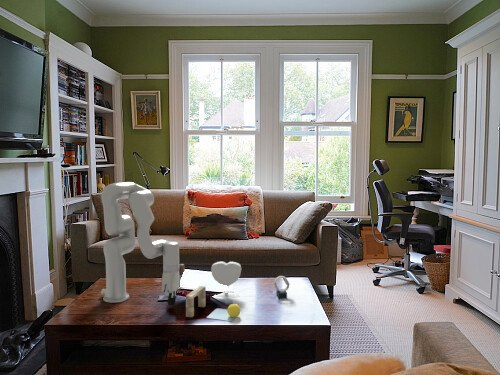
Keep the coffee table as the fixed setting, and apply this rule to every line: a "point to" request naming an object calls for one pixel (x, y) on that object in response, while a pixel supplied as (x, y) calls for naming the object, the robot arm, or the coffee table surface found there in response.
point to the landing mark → (220, 315)
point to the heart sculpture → (226, 275)
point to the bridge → (190, 300)
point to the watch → (281, 293)
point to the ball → (233, 310)
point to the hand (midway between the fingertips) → (171, 304)
